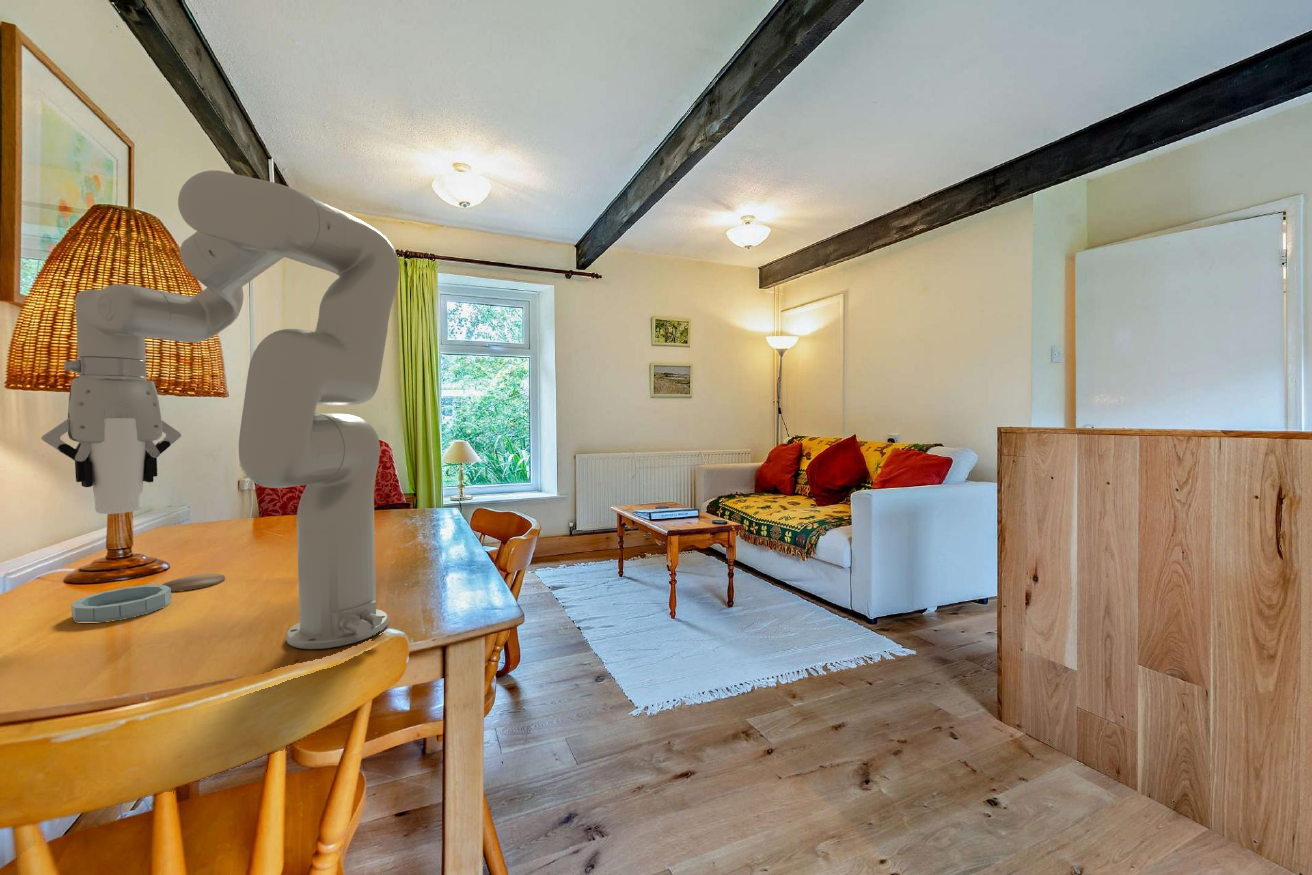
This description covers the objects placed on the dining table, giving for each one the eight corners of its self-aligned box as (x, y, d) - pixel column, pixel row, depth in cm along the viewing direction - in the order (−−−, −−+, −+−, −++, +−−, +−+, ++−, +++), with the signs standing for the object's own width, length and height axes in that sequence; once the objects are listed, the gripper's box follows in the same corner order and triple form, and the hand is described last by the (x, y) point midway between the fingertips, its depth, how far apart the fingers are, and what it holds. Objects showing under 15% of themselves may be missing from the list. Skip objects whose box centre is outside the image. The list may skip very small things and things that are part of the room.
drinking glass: (77, 514, 83) (73, 418, 82) (131, 507, 89) (127, 417, 88) (106, 516, 81) (101, 418, 80) (159, 509, 87) (155, 417, 86)
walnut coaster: (232, 581, 100) (232, 579, 100) (169, 595, 93) (169, 592, 93) (214, 573, 105) (214, 571, 105) (154, 585, 98) (154, 583, 98)
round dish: (179, 606, 87) (179, 592, 87) (82, 629, 78) (81, 613, 78) (158, 594, 93) (158, 581, 93) (66, 614, 84) (65, 599, 84)
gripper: (34, 365, 75) (40, 492, 75) (191, 373, 89) (195, 480, 90) (24, 368, 79) (31, 488, 79) (176, 375, 93) (181, 477, 94)
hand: (118, 482), depth 85 cm, fingers closed on drinking glass, 6 cm apart
